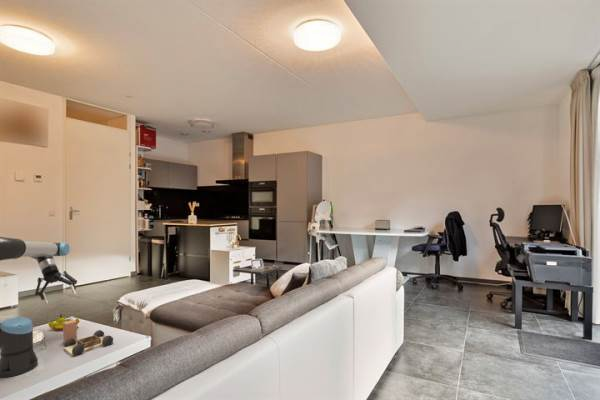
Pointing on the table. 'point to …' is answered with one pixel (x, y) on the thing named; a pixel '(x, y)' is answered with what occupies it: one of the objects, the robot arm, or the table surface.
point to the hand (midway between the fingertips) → (61, 299)
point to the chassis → (87, 343)
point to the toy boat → (60, 323)
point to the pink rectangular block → (69, 330)
